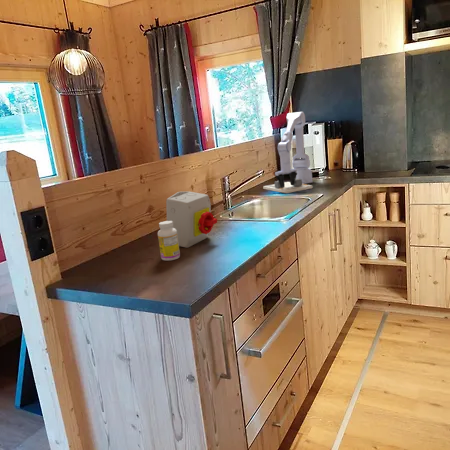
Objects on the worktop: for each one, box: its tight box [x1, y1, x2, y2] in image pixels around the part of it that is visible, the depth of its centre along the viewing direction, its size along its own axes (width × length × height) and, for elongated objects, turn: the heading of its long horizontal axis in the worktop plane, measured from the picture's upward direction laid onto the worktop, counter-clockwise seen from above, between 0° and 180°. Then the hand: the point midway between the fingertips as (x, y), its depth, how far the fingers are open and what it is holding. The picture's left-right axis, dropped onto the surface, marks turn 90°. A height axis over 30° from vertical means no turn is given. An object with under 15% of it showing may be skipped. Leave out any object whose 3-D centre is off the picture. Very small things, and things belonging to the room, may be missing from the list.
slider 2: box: [292, 178, 302, 186], centre depth 254 cm, size 4×4×4 cm
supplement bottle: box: [157, 220, 181, 262], centre depth 148 cm, size 7×7×13 cm
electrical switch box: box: [165, 190, 218, 249], centre depth 163 cm, size 15×15×20 cm
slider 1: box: [274, 180, 285, 188], centre depth 255 cm, size 4×4×4 cm
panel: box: [262, 181, 313, 194], centre depth 260 cm, size 18×26×2 cm
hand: (287, 186), depth 252 cm, fingers open, 7 cm apart
